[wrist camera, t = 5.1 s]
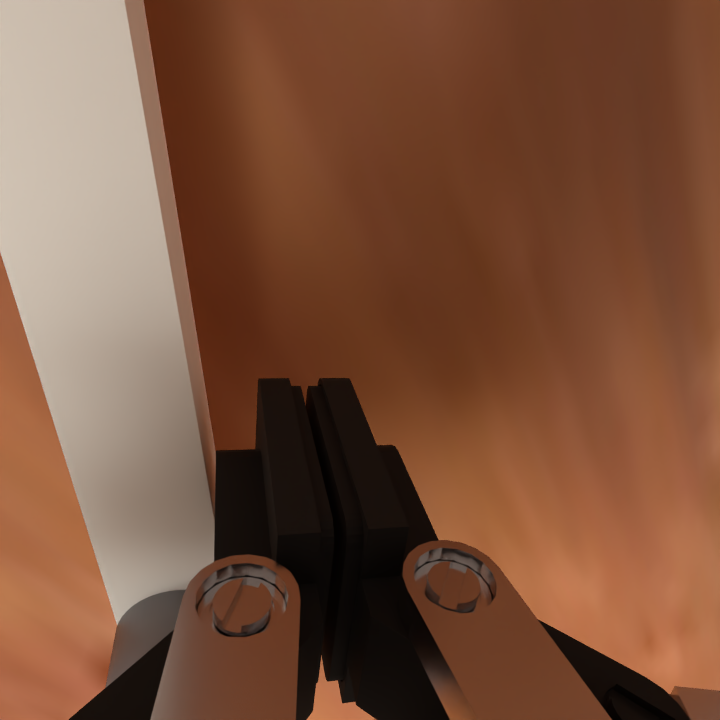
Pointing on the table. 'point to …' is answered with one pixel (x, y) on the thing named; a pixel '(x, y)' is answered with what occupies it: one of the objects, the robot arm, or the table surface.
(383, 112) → the table surface
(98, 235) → the tongs moving jaw
